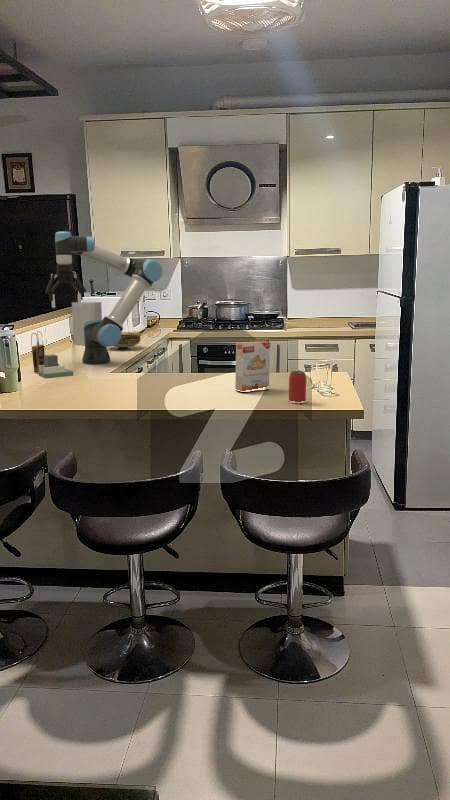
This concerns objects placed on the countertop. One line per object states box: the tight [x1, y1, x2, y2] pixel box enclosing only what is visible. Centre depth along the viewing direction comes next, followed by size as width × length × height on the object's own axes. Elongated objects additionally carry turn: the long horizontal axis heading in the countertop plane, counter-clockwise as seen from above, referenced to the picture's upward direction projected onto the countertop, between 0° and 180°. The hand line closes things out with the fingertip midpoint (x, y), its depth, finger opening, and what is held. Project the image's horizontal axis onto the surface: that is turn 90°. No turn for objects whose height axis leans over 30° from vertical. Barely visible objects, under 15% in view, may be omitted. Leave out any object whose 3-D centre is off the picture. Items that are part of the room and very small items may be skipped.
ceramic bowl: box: [113, 331, 143, 351], centre depth 390 cm, size 30×24×10 cm
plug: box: [44, 354, 59, 367], centre depth 297 cm, size 5×5×8 cm
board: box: [38, 363, 74, 379], centre depth 299 cm, size 14×9×5 cm, turn 124°
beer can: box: [288, 370, 307, 402], centre depth 239 cm, size 7×7×12 cm
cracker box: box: [234, 340, 271, 391], centre depth 260 cm, size 14×6×21 cm, turn 122°
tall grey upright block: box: [71, 301, 103, 347], centre depth 409 cm, size 19×15×28 cm
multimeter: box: [30, 330, 46, 375], centre depth 309 cm, size 15×10×20 cm
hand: (66, 307), depth 310 cm, fingers open, 13 cm apart
